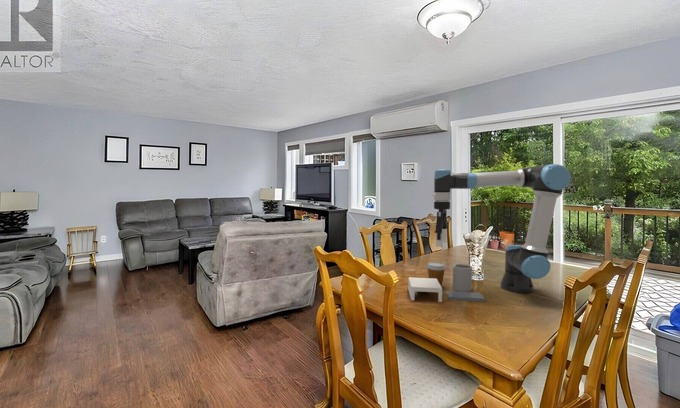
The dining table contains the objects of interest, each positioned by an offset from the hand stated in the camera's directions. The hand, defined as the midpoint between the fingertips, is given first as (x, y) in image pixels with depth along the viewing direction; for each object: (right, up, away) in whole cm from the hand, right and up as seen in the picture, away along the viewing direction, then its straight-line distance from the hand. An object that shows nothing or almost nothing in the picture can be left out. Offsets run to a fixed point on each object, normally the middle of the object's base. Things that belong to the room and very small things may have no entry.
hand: (441, 244), depth 157 cm
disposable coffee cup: (+1, -24, +13) cm, 28 cm away
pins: (-13, -25, 0) cm, 28 cm away
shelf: (-9, -25, -1) cm, 27 cm away
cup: (+14, -25, +9) cm, 30 cm away
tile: (+10, -26, -3) cm, 28 cm away
